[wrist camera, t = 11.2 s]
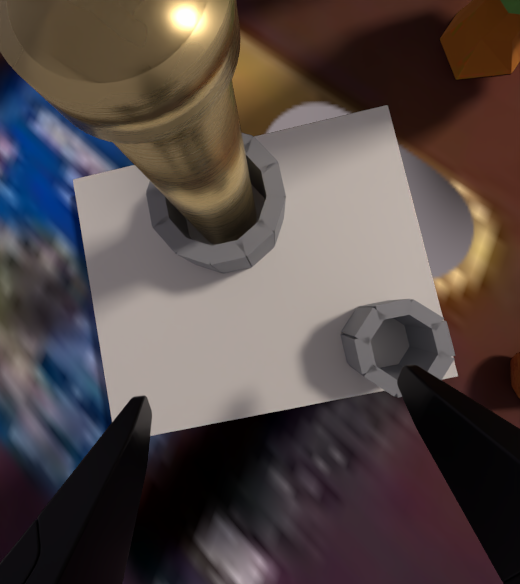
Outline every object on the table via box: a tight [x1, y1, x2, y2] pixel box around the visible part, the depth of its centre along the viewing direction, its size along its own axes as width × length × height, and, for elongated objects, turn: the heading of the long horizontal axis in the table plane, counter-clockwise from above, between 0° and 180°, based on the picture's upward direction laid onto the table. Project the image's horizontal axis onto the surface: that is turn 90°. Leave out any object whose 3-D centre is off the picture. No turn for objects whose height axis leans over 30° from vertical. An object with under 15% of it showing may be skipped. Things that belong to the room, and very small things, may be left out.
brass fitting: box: [0, 0, 257, 245], centre depth 12 cm, size 5×5×13 cm
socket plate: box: [73, 105, 458, 436], centre depth 17 cm, size 18×22×5 cm
